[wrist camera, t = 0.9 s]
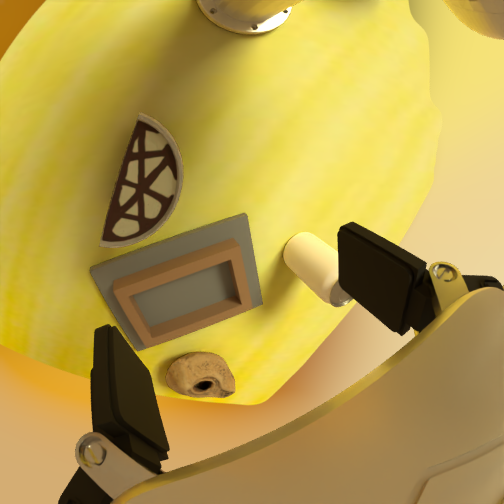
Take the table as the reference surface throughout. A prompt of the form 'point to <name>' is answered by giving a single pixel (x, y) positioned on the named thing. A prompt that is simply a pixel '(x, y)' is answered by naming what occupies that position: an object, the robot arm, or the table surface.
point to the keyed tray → (182, 282)
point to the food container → (144, 185)
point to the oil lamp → (201, 376)
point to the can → (316, 267)
